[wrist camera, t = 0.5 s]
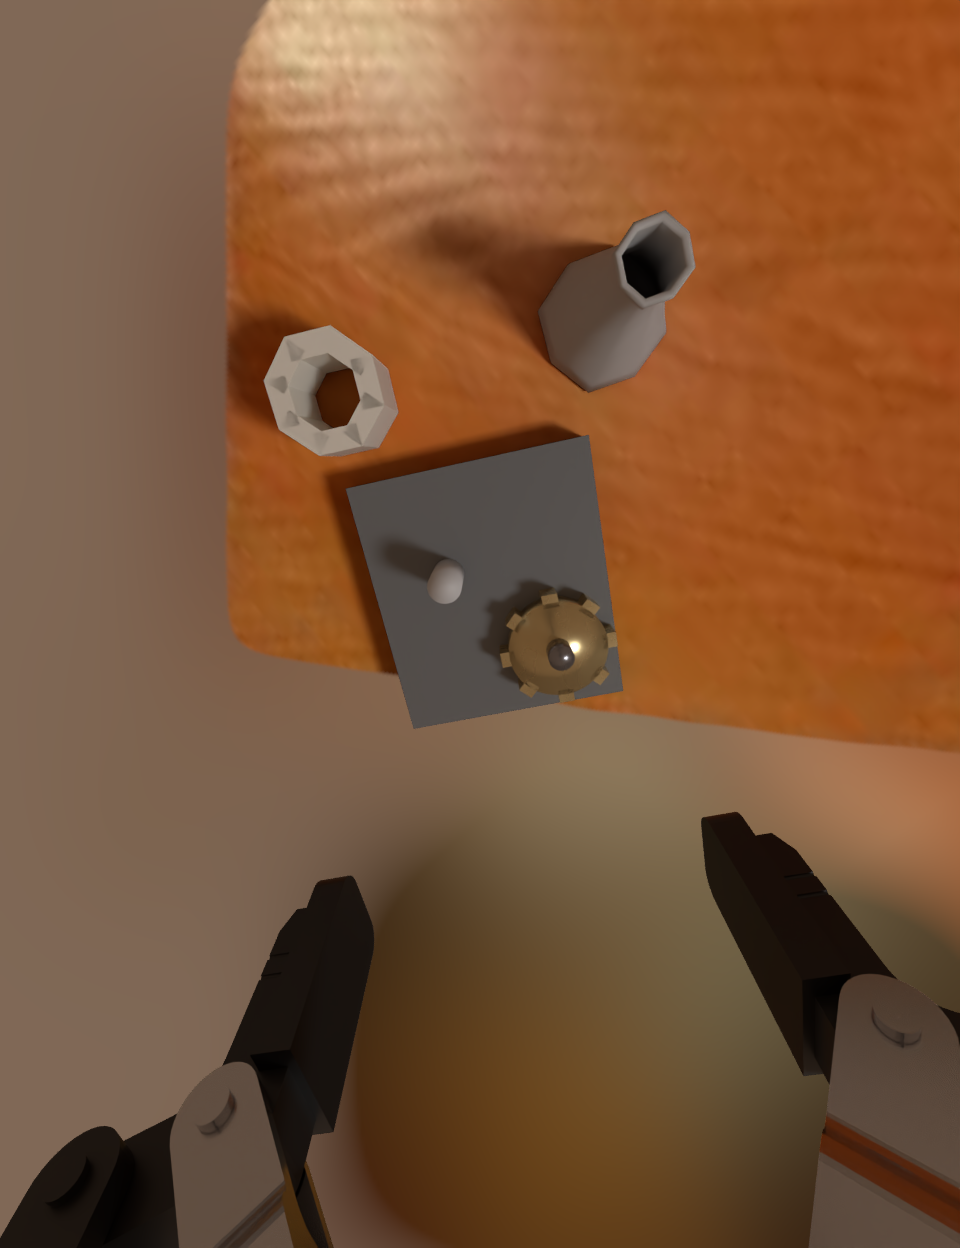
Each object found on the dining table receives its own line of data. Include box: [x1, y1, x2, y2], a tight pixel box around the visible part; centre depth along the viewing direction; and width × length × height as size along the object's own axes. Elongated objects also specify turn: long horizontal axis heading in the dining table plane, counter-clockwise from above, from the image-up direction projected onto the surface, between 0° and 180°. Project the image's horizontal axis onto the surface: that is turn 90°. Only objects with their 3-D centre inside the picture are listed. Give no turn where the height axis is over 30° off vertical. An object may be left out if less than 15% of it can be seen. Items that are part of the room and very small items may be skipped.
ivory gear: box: [264, 325, 398, 456], centre depth 29 cm, size 6×6×4 cm
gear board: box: [346, 435, 623, 729], centre depth 32 cm, size 17×15×6 cm
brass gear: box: [500, 588, 618, 703], centre depth 32 cm, size 8×8×3 cm
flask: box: [538, 210, 695, 393], centre depth 25 cm, size 7×7×10 cm
